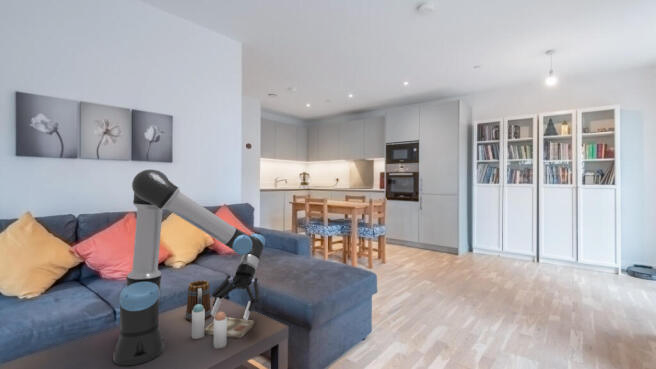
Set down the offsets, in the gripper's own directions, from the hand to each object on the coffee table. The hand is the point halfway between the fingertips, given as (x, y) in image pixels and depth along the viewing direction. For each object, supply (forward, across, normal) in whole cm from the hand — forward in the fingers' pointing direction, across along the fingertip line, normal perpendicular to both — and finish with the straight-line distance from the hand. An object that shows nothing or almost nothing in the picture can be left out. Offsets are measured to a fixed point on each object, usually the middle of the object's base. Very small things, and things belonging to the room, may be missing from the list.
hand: (228, 317), depth 119 cm
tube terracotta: (+9, +1, -3) cm, 10 cm away
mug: (-3, +22, -16) cm, 27 cm away
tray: (0, +4, -12) cm, 13 cm away
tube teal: (+6, +13, -6) cm, 16 cm away
